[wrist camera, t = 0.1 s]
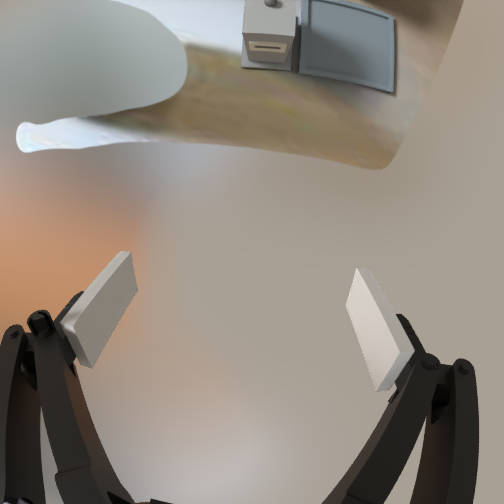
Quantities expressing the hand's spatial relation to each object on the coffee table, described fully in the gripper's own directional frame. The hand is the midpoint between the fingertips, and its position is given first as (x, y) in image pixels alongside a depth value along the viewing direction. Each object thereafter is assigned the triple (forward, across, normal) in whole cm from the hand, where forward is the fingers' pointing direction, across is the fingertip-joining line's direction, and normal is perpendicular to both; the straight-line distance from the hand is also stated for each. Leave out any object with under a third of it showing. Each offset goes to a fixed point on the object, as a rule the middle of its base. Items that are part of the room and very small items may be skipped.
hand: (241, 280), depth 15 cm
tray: (+28, +13, +24) cm, 39 cm away
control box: (+28, +1, +22) cm, 35 cm away
